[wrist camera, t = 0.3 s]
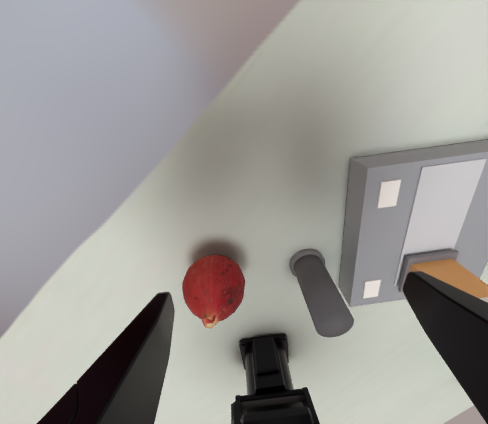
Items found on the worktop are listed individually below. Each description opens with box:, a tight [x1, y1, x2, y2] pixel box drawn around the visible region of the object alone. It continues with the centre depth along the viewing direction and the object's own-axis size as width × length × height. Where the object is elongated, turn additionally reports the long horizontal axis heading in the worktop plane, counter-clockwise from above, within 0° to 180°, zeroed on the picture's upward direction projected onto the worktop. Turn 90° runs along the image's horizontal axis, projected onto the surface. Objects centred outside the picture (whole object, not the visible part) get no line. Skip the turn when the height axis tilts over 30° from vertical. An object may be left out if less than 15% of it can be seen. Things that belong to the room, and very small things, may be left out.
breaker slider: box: [398, 250, 488, 302], centre depth 21 cm, size 4×5×6 cm
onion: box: [182, 255, 245, 328], centre depth 23 cm, size 6×6×8 cm
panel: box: [339, 139, 488, 307], centre depth 24 cm, size 16×14×3 cm
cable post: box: [290, 249, 354, 337], centre depth 24 cm, size 4×4×8 cm
